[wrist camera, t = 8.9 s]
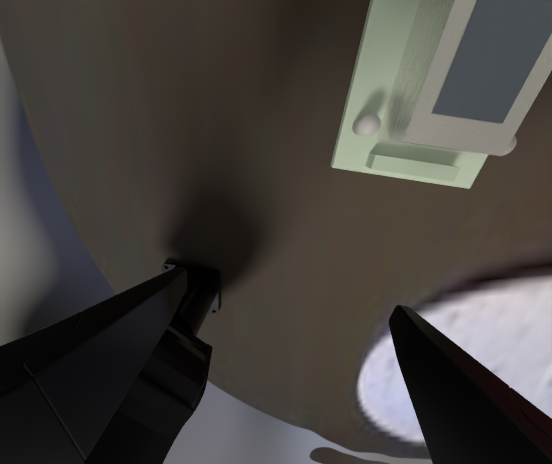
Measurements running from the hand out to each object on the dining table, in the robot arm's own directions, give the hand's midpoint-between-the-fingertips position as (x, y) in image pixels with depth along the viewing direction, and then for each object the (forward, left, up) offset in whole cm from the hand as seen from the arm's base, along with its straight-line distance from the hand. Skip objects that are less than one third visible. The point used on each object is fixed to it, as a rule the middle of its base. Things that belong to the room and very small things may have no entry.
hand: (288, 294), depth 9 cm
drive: (+11, -8, -11) cm, 17 cm away
